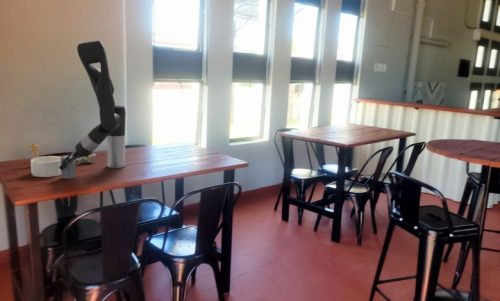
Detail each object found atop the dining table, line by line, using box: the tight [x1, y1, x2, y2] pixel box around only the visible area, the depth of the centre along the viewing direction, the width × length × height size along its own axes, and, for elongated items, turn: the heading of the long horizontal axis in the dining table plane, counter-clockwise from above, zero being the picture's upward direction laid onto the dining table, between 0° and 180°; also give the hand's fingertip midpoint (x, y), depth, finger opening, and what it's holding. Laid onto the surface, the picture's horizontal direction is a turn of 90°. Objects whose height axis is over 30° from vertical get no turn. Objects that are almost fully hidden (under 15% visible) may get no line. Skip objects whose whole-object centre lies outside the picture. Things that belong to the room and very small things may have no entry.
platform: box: [78, 151, 96, 165], centre depth 211 cm, size 12×18×7 cm, turn 133°
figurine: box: [25, 142, 44, 159], centre depth 199 cm, size 8×6×12 cm
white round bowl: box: [30, 155, 62, 178], centre depth 188 cm, size 14×14×7 cm
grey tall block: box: [60, 155, 77, 180], centre depth 183 cm, size 5×5×10 cm
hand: (65, 166), depth 183 cm, fingers open, 8 cm apart
